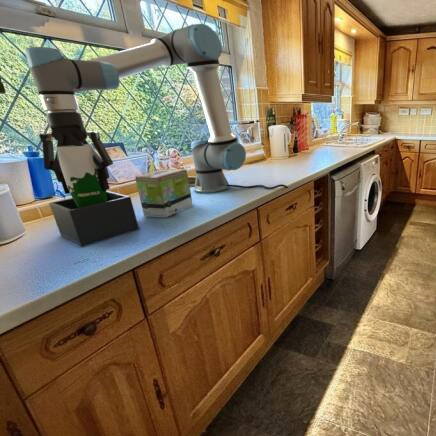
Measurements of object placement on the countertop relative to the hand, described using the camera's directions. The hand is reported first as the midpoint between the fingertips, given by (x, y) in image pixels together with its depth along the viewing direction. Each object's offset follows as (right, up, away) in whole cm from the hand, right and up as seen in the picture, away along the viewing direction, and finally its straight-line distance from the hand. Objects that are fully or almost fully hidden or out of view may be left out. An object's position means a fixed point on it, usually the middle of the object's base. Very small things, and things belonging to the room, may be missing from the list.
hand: (88, 191), depth 90 cm
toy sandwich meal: (+4, +9, +65) cm, 66 cm away
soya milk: (0, -4, +2) cm, 5 cm away
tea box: (+13, -6, +23) cm, 27 cm away
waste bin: (0, -13, +5) cm, 14 cm away
